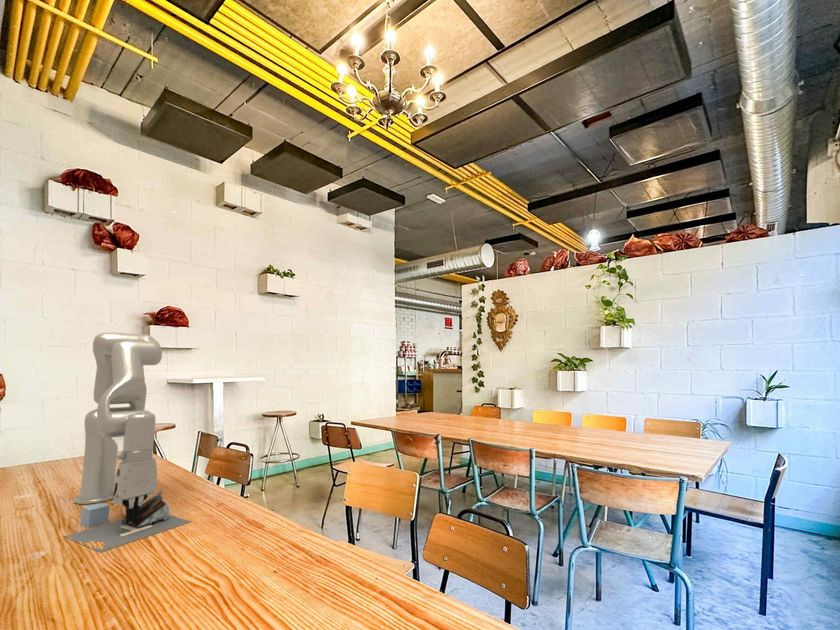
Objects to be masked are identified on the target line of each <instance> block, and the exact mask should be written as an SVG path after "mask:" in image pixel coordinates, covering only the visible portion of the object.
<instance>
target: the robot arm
mask: <svg viewBox="0 0 840 630" xmlns="http://www.w3.org/2000/svg"><path fill="white" fill-rule="evenodd" d="M92 352H93V356H94V359H95V363H96V372H95V380H94V387H93V388H94V389H93V401H94V402H95V403H96V404H97V408H96V409H92V410H90V411H88V412H87V414H86V415H85V417H84V436H85V440H84V441H85V443H84V452H83V453H84V456H83V463H82V464H83V466H82V476H81V485H80V489H79V490H80V491H79V492H80V493H79V495H76V496H75V497H74V498H73V503H75V504H78V505H79V504H80V505H88V504H90V505H92V504H98V503H103V502H108V501H110V500H111V501H112V504H114V505H122V506H123V507H125V516H126V517H125V516H124V517H125V518H126V520H127V521H128V522H131V523H132V522H134V521H138V517H139V515H140V506H141V505H142V504H144V503H145V502H144V501H146V499H147V498H151V496H152V497H153V496H155V492H156V490H157V488H158V468H157V461H156V458H155V457H153V454H154V441H155V431H156V418H157V417H156V415H155V414H154V413H152V412H151V411H149V410H146V409H145V408H146V400H147V392H148V391H147V384H146V379H145V370H144V369H145V367H144V366H157V365H159V364H160V363H161V360H162V358H163V350H162V347H161V344H160V343H159V341H157V340H156V338H154V337H153V336H152V335H149V334H143V333H127V332H126V333H124V332H103V333H98V334H97V335H95V337H94V338H93V341H92ZM125 404H127V405H129V406H118V407H117V406H116V407H115V406H114V407H110V406H111V405H125ZM120 437H122V438H123V445H122V451H121V453H120V454H118V450H119V446H118V443H117V441H116V440H114V438H120ZM118 460H120V462H119V463H118V466H117V461H118Z"/></svg>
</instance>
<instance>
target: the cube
mask: <svg viewBox="0 0 840 630" xmlns="http://www.w3.org/2000/svg"><path fill="white" fill-rule="evenodd" d="M110 507H111V506H110V505H109V504H107V503H103V502H99V503H93V504H90V505H86V506H82V507H81V512H80V513H81V514H80V522H79V524H80V526H82V527H85V528H87V529H91V528H94V527H98V526H101V525H105V524H108V523H109V515H110V514H109V513H110Z"/></svg>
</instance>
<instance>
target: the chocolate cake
mask: <svg viewBox="0 0 840 630" xmlns="http://www.w3.org/2000/svg"><path fill="white" fill-rule="evenodd" d="M169 515H170V507H169V505H168V503H166V502H165V501H164V500H163V496H162V491H160V492H157V493H156V495H155V494H154V495H153V496H152V497H149V499H147V500H145V502H143V504H142V505H141V506H140V515H139V517H138V521H134V522H132V523H131V522H128V521H127V520H126V518H125V517H126V515H124V517H123V518H122V519H123V520H122V519H121V520H122V525H127V524H132V525H134V526H135V527H140V526H142V525H146V524H149V523H150V524H155V521H158V520H161V519H162V520H166V519H167V518H168V517H169Z"/></svg>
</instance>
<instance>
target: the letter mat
mask: <svg viewBox="0 0 840 630" xmlns="http://www.w3.org/2000/svg"><path fill="white" fill-rule="evenodd" d="M122 520H123V518H122V519H119V520H115V521H113V522H108V523H104V524H101V525H97V526H94V527H90V528H87V529H84V530H81V531H78V532H74V533H70V534H66V535H63V538H65V537H66V539H68V537H69V536H70V537H72V538H71V539H72V540H73V539H74V540H73V541H72V540H71V541H72V542H75V541H76V543H77V542H78V541H79V542H80V541H81V543H83V542H84V543H89V541H94V543H95V542H104V543H105V545H104V543H103V545H104V547H103V549H99V548H98V549H97V547H96V549H95V546H94V550H93V551H96V552H98V553H103V552H106V551H108V550H112V549H115V548H118V547H120V546H124V545H127V544H129V543H133V542H136V541H140V540H141V539H145V538H147V537H151V536H153V535H156V534H159V533H162V532H164V531H168V530H171V529H174V528H177V527H179V526H183V525H185V524H188V523H191V522H192V521H191V520H187V519H185V518H181V517H177V516H174V515H171V514H169V517H168V518H167V519H166V520H162V519H161V520H158V521H155V524H150V523H149V524H146V525H142V526H140V527H135V526H134V525H132V524H127V525H122ZM70 537H69V538H70ZM95 540H96V541H95ZM85 545H86V544H85ZM87 545H88V544H87ZM87 545H86V546H87ZM82 546H84V544H83V545H82ZM86 546H85V547H86ZM87 548H89V545H88V547H87ZM92 548H93V546H92Z"/></svg>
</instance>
